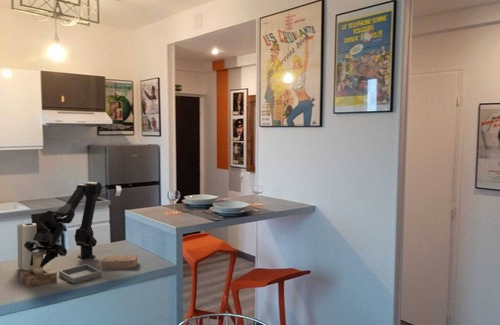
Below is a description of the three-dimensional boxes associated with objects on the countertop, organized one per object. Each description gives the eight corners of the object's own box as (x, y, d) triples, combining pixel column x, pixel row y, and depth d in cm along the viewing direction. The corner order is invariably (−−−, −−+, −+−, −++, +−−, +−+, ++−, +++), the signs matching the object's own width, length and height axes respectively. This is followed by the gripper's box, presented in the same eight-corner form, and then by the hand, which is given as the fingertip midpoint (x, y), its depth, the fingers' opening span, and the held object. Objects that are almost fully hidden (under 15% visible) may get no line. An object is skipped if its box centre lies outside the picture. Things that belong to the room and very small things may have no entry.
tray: (59, 276, 183) (59, 270, 183) (86, 269, 193) (86, 263, 193) (73, 284, 174) (73, 278, 174) (101, 276, 184) (101, 271, 184)
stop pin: (30, 280, 177) (29, 251, 176) (41, 277, 181) (41, 249, 180) (34, 283, 174) (34, 253, 173) (46, 280, 178) (46, 251, 176)
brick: (100, 269, 194) (100, 260, 193) (103, 263, 202) (103, 254, 201) (135, 269, 196) (135, 259, 196) (137, 263, 204) (137, 254, 204)
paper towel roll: (39, 267, 192) (39, 223, 191) (28, 271, 187) (27, 226, 185) (29, 265, 195) (29, 221, 194) (17, 268, 190) (17, 224, 188)
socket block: (19, 280, 177) (19, 272, 176) (45, 273, 185) (45, 266, 185) (30, 287, 170) (30, 279, 169) (56, 280, 178) (56, 272, 178)
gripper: (26, 223, 181) (7, 254, 171) (62, 227, 177) (44, 259, 167) (39, 236, 190) (21, 266, 180) (74, 240, 185) (57, 271, 176)
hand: (35, 266), depth 175 cm, fingers open, 5 cm apart
